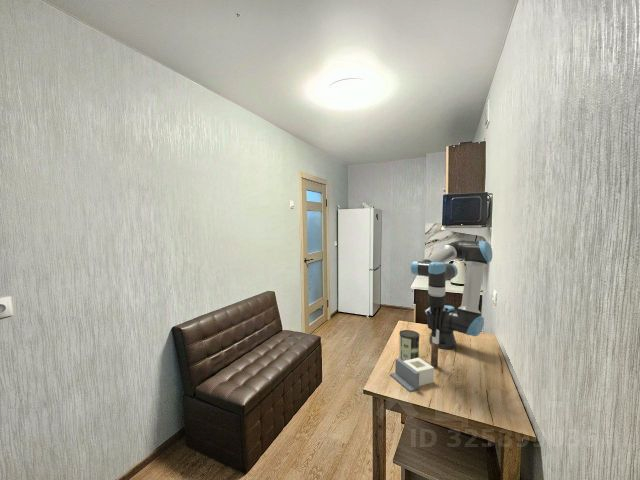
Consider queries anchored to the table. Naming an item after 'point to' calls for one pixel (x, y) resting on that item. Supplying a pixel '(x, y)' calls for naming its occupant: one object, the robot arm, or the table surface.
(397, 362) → the wall
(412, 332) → the coffee can
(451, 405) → the table surface
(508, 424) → the table surface
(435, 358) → the dowel
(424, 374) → the block
